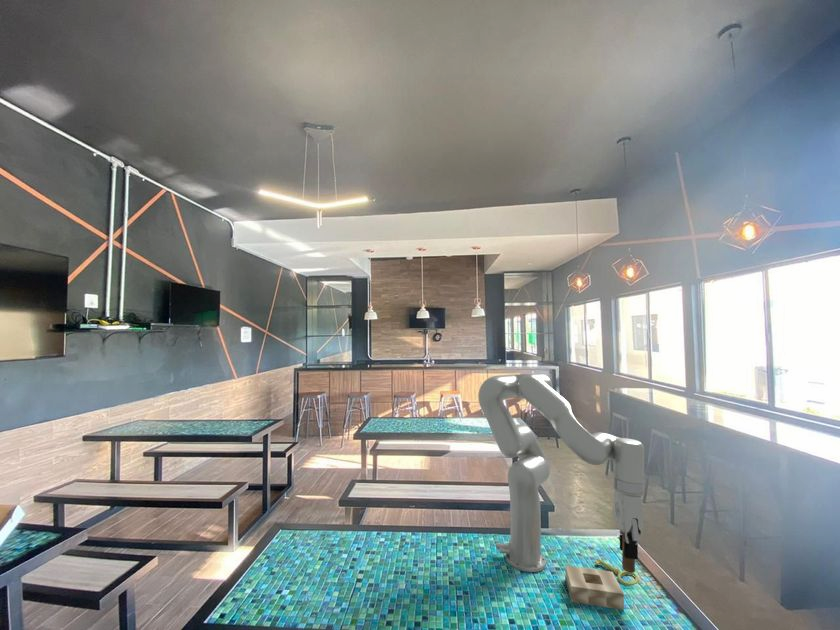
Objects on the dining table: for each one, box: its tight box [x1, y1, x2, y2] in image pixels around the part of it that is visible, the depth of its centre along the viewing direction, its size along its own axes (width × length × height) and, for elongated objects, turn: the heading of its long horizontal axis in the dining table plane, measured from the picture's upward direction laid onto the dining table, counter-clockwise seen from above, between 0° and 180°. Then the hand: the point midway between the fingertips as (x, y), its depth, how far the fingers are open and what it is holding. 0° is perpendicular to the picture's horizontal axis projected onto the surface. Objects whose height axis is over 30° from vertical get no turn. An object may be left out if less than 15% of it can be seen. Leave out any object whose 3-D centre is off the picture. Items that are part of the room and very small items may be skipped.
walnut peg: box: [621, 529, 636, 573], centre depth 101 cm, size 3×3×10 cm
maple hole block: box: [564, 564, 625, 611], centre depth 104 cm, size 13×10×4 cm
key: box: [593, 557, 640, 587], centre depth 113 cm, size 7×12×2 cm, turn 53°
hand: (628, 553), depth 101 cm, fingers closed on walnut peg, 3 cm apart
